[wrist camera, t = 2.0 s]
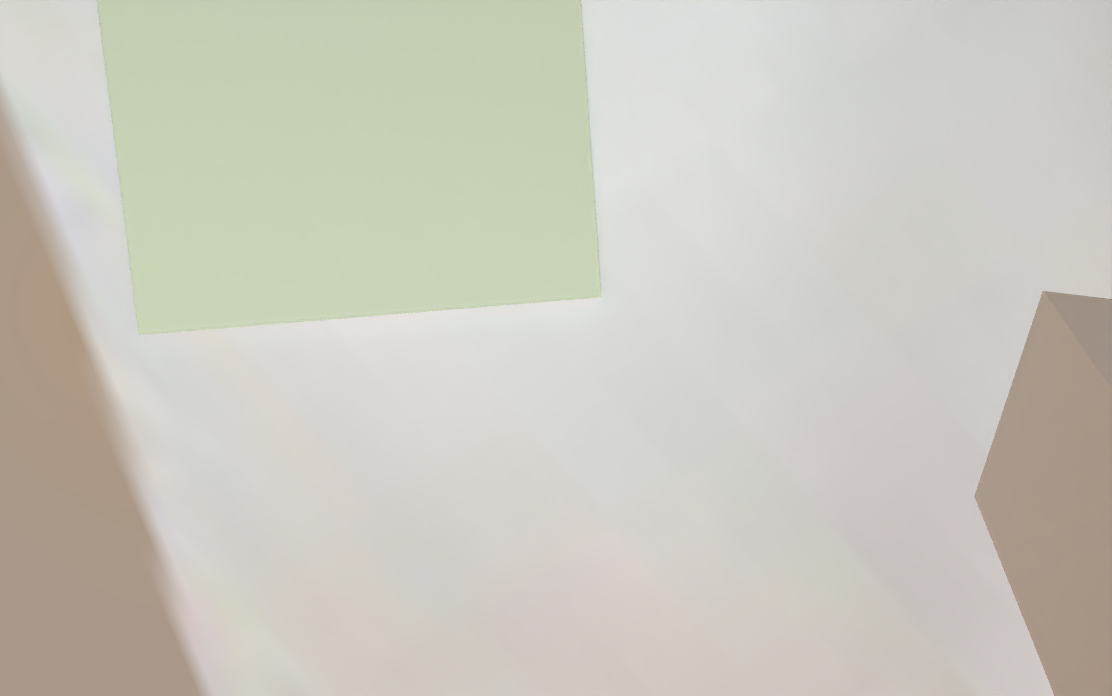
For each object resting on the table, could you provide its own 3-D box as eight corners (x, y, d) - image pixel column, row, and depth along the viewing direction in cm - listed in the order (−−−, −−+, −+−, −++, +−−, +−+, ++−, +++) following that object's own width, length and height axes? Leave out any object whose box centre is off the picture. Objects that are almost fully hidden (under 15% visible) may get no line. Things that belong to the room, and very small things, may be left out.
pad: (575, -53, 36) (576, -55, 36) (600, 296, 38) (601, 297, 38) (97, -25, 35) (93, -27, 35) (141, 334, 37) (138, 334, 36)
